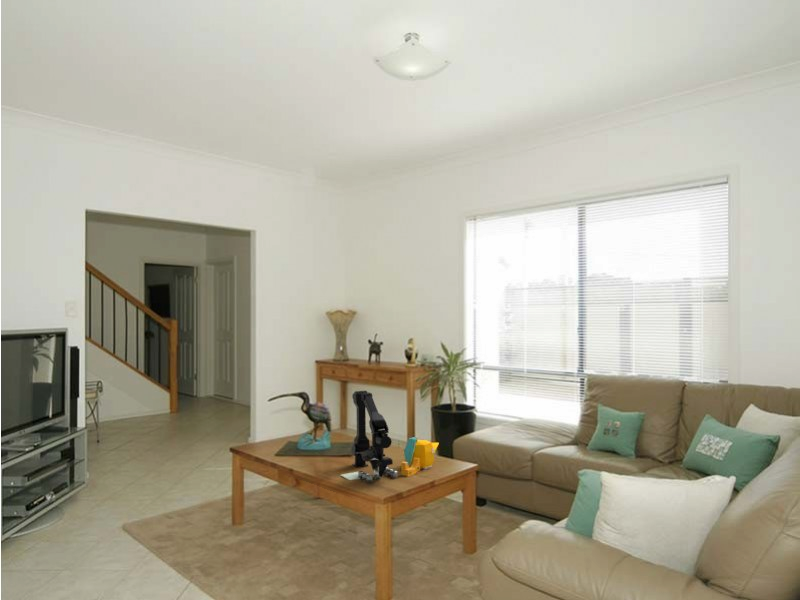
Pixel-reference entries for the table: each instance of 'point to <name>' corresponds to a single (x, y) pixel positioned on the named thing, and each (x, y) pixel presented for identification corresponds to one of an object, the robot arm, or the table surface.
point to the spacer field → (369, 478)
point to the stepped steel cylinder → (376, 474)
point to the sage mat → (351, 476)
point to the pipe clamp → (413, 469)
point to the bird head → (420, 452)
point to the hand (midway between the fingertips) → (377, 475)
